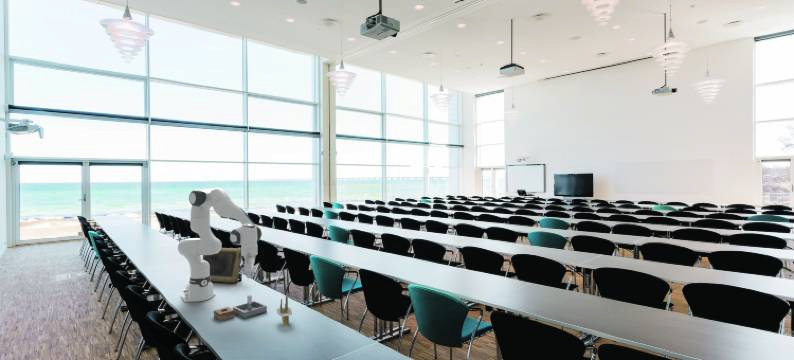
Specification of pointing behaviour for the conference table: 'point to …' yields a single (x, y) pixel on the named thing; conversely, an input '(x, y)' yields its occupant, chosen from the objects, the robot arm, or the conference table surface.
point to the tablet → (225, 265)
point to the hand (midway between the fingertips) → (249, 275)
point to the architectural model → (284, 312)
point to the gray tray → (256, 310)
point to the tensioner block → (224, 313)
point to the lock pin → (249, 302)
